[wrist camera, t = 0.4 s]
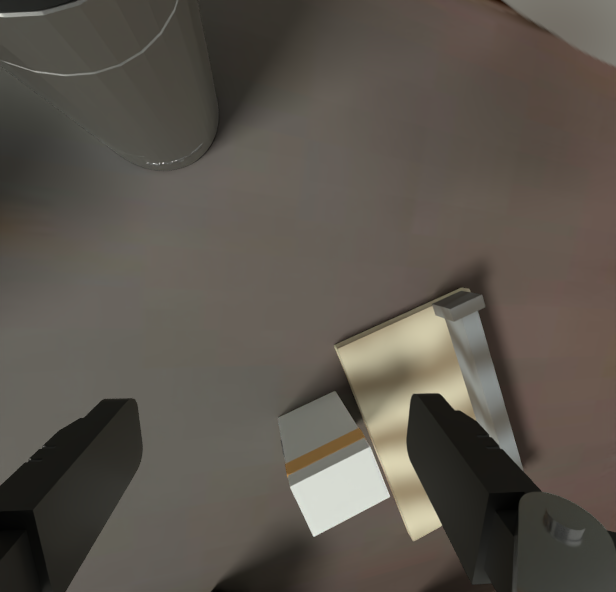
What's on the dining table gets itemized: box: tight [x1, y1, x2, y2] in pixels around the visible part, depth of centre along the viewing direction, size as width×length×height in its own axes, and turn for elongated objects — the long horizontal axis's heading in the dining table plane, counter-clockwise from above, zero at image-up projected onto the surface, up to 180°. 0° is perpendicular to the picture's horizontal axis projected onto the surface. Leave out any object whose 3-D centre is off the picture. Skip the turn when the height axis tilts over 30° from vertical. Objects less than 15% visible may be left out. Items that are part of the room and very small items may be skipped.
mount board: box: [334, 287, 524, 541], centre depth 31 cm, size 23×14×4 cm, turn 22°
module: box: [278, 391, 390, 537], centre depth 26 cm, size 4×6×9 cm
